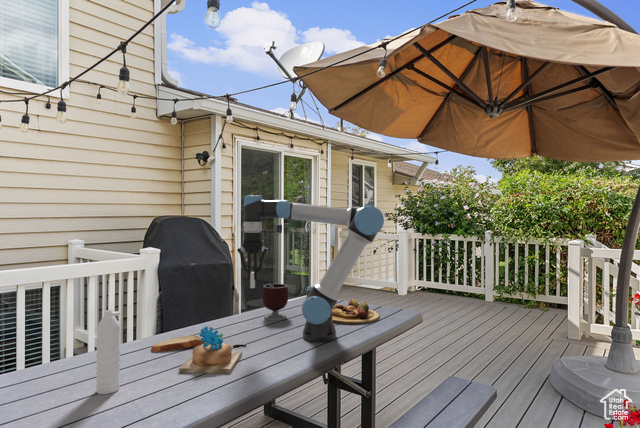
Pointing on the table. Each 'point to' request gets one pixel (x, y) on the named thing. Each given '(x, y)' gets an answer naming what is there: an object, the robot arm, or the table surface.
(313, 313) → the robot arm
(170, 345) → the slice of bread
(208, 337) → the gear
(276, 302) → the mate gourd
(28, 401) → the table surface
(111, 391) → the water bottle
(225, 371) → the bread on wooden board
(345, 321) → the wooden plate with food
